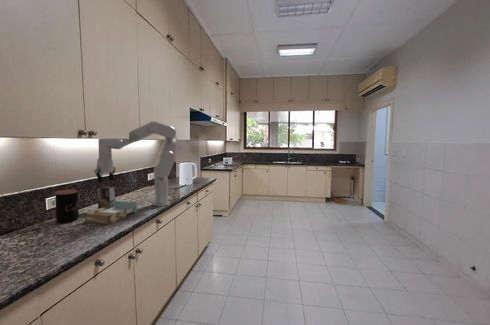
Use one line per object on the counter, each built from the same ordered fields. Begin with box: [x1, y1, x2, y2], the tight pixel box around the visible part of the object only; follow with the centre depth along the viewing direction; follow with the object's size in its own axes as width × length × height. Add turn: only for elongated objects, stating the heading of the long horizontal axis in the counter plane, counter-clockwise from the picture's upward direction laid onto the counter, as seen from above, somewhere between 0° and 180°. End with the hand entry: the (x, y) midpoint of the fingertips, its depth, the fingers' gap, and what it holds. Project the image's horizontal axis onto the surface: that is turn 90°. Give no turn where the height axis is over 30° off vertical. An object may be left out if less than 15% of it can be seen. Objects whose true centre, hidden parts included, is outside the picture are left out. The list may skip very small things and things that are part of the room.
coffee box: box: [96, 185, 117, 210], centre depth 160 cm, size 9×6×16 cm
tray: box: [101, 200, 138, 215], centre depth 151 cm, size 14×17×7 cm
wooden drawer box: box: [84, 207, 128, 226], centre depth 142 cm, size 14×17×5 cm
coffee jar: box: [54, 188, 80, 224], centre depth 138 cm, size 11×11×18 cm
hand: (105, 181), depth 159 cm, fingers open, 9 cm apart
